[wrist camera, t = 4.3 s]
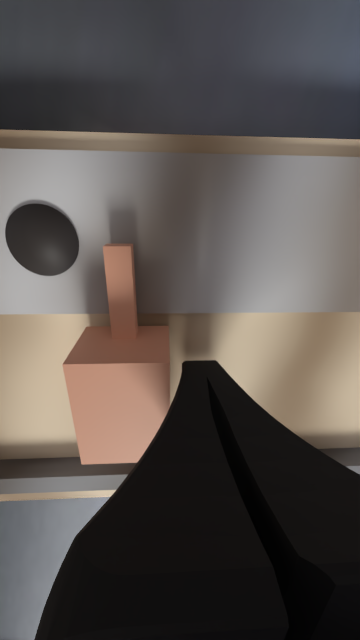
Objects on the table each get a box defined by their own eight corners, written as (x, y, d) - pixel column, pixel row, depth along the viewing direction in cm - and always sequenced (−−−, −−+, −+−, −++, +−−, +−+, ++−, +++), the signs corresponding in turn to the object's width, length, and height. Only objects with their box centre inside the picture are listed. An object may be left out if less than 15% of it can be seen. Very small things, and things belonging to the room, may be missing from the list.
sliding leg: (168, 241, 9) (169, 255, 6) (169, 410, 11) (170, 461, 9) (74, 241, 9) (41, 255, 6) (98, 411, 11) (81, 464, 9)
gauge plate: (547, 154, 10) (774, 125, 6) (399, 459, 16) (467, 534, 13) (-276, 133, 8) (-615, 79, 5) (-83, 477, 15) (-164, 567, 11)
